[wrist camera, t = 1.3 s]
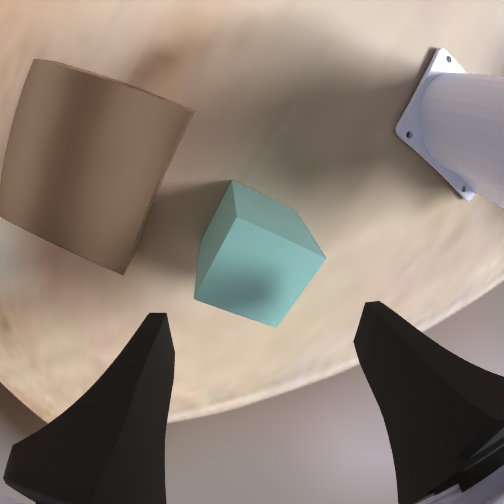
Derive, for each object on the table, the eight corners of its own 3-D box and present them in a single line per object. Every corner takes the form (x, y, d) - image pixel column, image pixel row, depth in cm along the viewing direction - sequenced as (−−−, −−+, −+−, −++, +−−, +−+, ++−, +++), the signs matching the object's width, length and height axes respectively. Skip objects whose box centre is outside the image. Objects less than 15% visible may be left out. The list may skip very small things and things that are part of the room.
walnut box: (195, 110, 15) (189, 112, 13) (135, 251, 19) (123, 275, 17) (58, 62, 12) (33, 59, 10) (20, 199, 16) (-3, 214, 14)
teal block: (296, 211, 19) (326, 257, 13) (262, 267, 20) (276, 327, 15) (232, 179, 17) (237, 216, 12) (200, 241, 19) (193, 298, 14)
